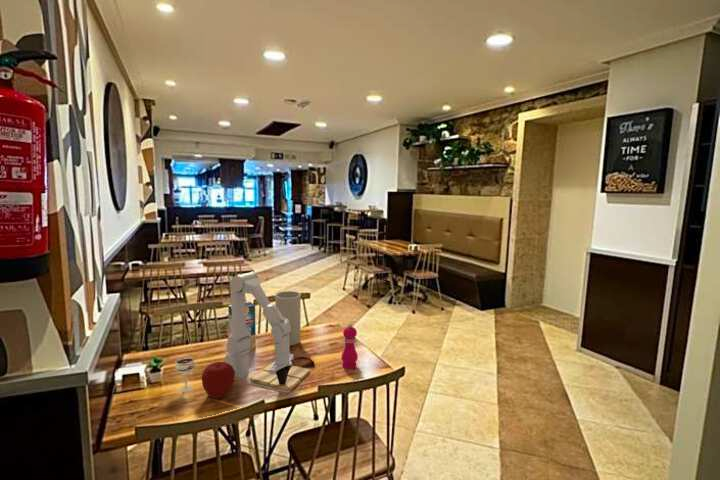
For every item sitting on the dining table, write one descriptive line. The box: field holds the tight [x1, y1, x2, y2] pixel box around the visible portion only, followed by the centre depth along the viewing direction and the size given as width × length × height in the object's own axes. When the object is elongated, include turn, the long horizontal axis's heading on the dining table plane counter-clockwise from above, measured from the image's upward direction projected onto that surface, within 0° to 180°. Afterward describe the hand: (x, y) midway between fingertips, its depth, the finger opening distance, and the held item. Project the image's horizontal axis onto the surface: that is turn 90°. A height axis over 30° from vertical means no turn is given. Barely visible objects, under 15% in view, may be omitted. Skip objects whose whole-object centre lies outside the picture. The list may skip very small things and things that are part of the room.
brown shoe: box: [290, 345, 315, 368], centre depth 175 cm, size 18×7×7 cm, turn 32°
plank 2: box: [270, 376, 301, 392], centre depth 153 cm, size 9×8×1 cm
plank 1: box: [249, 370, 277, 385], centre depth 156 cm, size 9×8×1 cm
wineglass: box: [175, 355, 196, 393], centre depth 148 cm, size 7×7×12 cm
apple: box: [201, 361, 236, 400], centre depth 144 cm, size 12×12×13 cm
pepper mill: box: [341, 323, 358, 370], centre depth 169 cm, size 7×7×20 cm
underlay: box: [246, 369, 312, 394], centre depth 159 cm, size 20×19×1 cm
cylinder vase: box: [274, 290, 302, 347], centre depth 194 cm, size 12×12×25 cm
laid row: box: [262, 361, 311, 382], centre depth 163 cm, size 18×8×1 cm, turn 70°
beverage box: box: [227, 301, 257, 351], centre depth 185 cm, size 7×11×22 cm, turn 124°
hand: (282, 383), depth 151 cm, fingers closed
